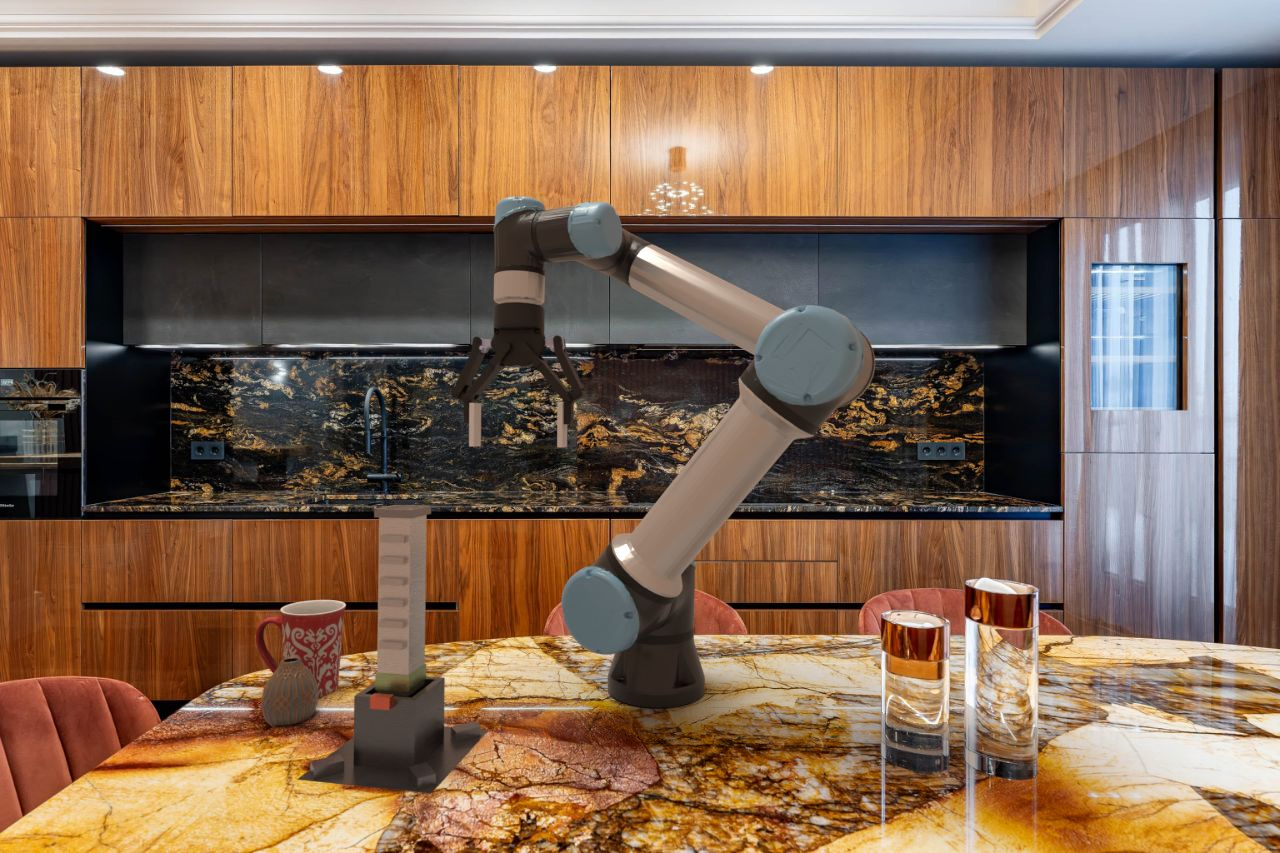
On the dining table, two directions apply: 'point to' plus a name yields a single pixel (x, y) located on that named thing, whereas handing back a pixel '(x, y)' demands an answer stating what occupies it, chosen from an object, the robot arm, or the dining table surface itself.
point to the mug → (309, 639)
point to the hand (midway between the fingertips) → (518, 447)
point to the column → (401, 599)
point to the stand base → (398, 742)
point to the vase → (289, 694)
